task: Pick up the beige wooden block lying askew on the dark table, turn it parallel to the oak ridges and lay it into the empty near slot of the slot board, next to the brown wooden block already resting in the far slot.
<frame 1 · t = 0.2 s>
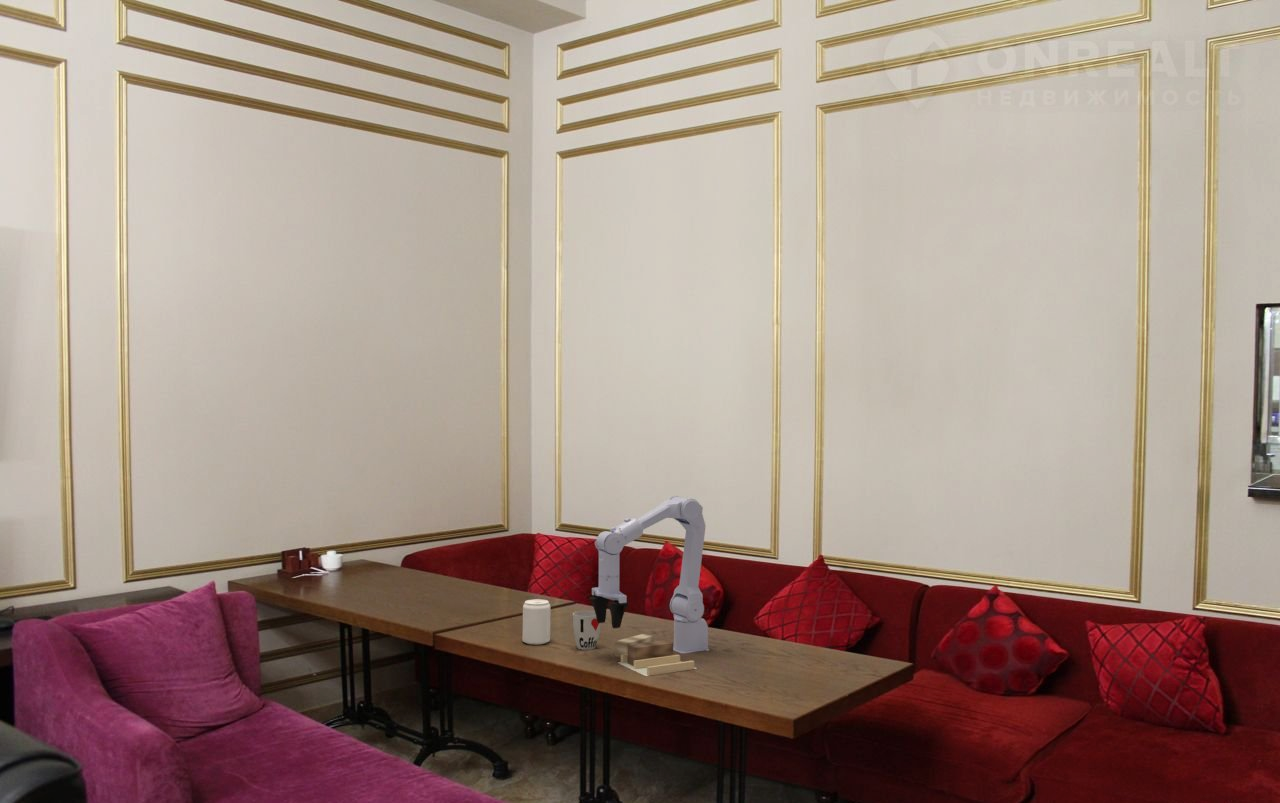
hand: (608, 625, 269), 10 cm above the table, fingers open, 7 cm apart
beige wooden block: (634, 656, 274), on the table
cup: (586, 648, 283), on the table
slot board: (657, 667, 262), on the table
brown wooden block: (650, 662, 265), point 1 cm above the table, touching slot board
beverage can: (536, 642, 289), on the table
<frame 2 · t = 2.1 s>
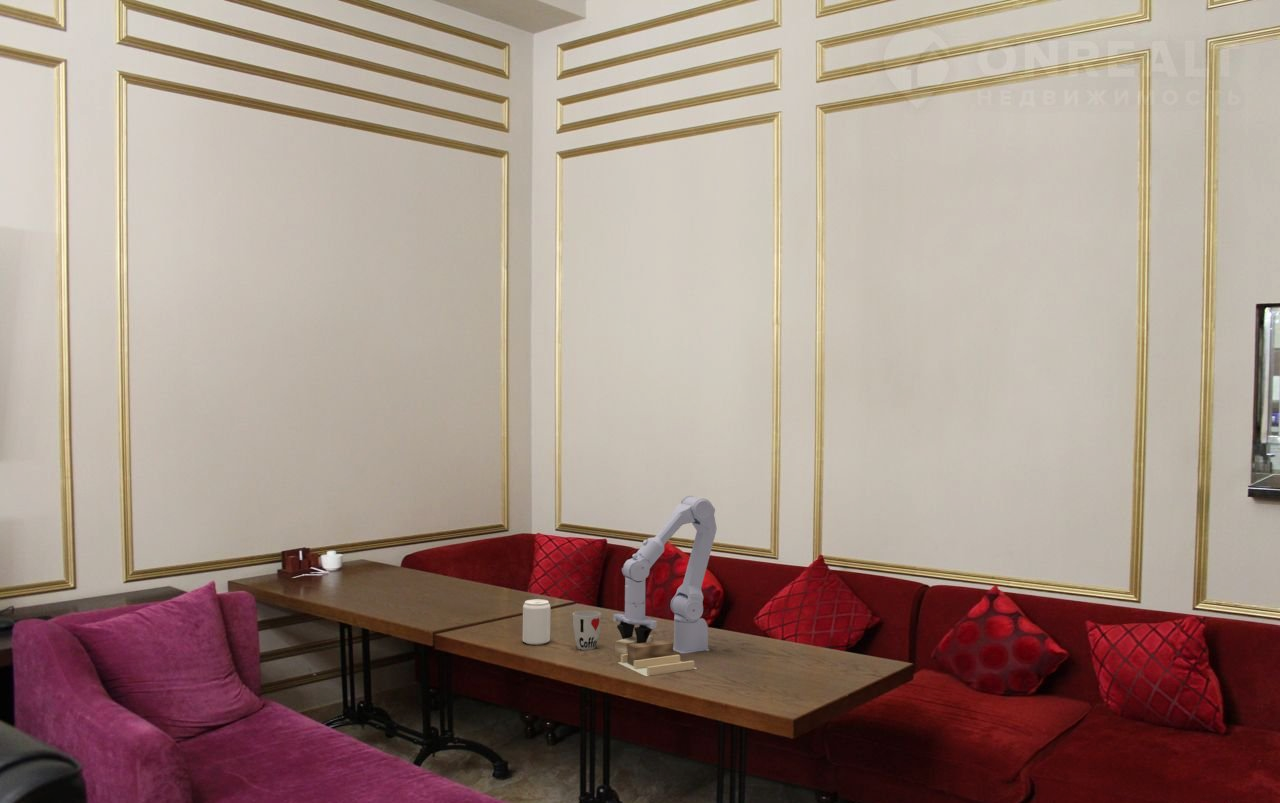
hand: (634, 650, 275), 1 cm above the table, fingers open, 4 cm apart
beige wooden block: (634, 656, 274), on the table, touching gripper
everything else where it was.
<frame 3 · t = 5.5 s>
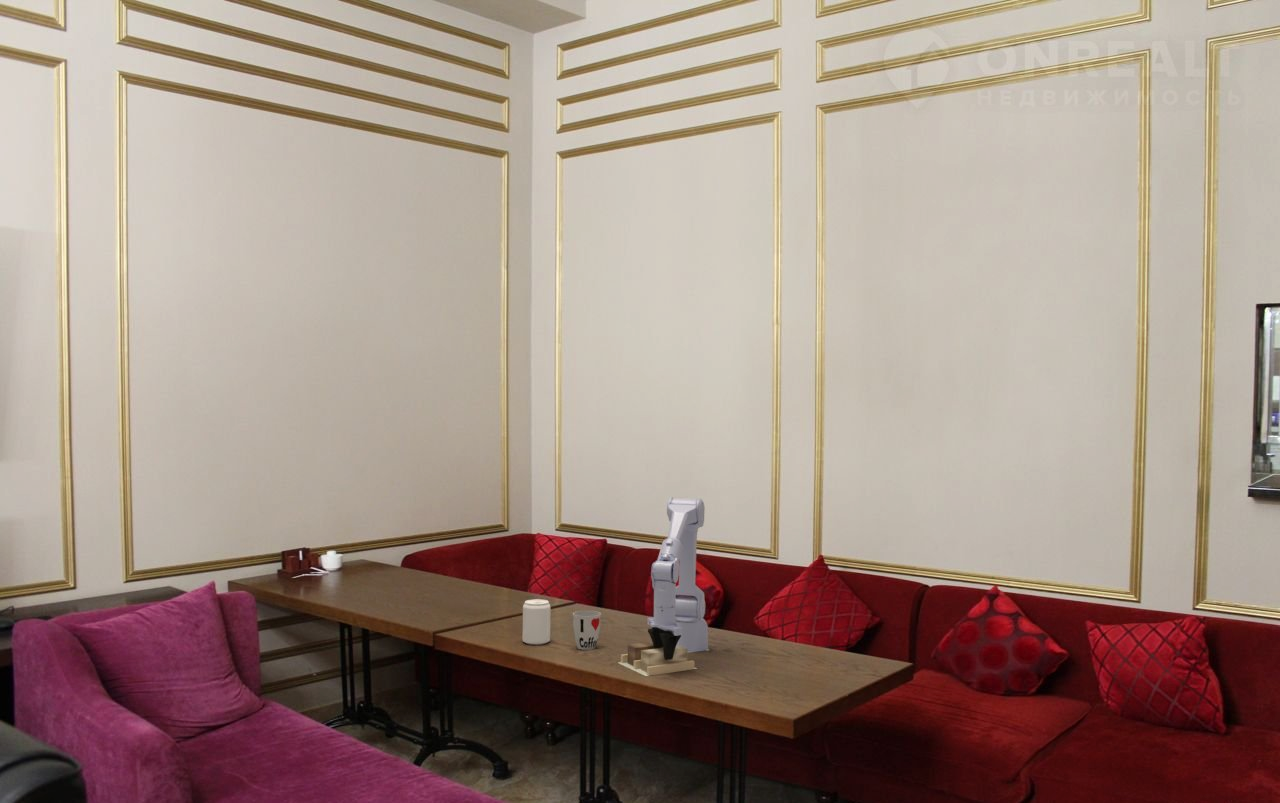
hand: (664, 657, 259), 4 cm above the table, fingers closed on beige wooden block, 4 cm apart
beige wooden block: (664, 668, 259), point 1 cm above the table, touching gripper, slot board
everything else where it was.
when the fingers open (4 cm above the table, at t = 6.2 s): beige wooden block stays where it is, resting on slot board.
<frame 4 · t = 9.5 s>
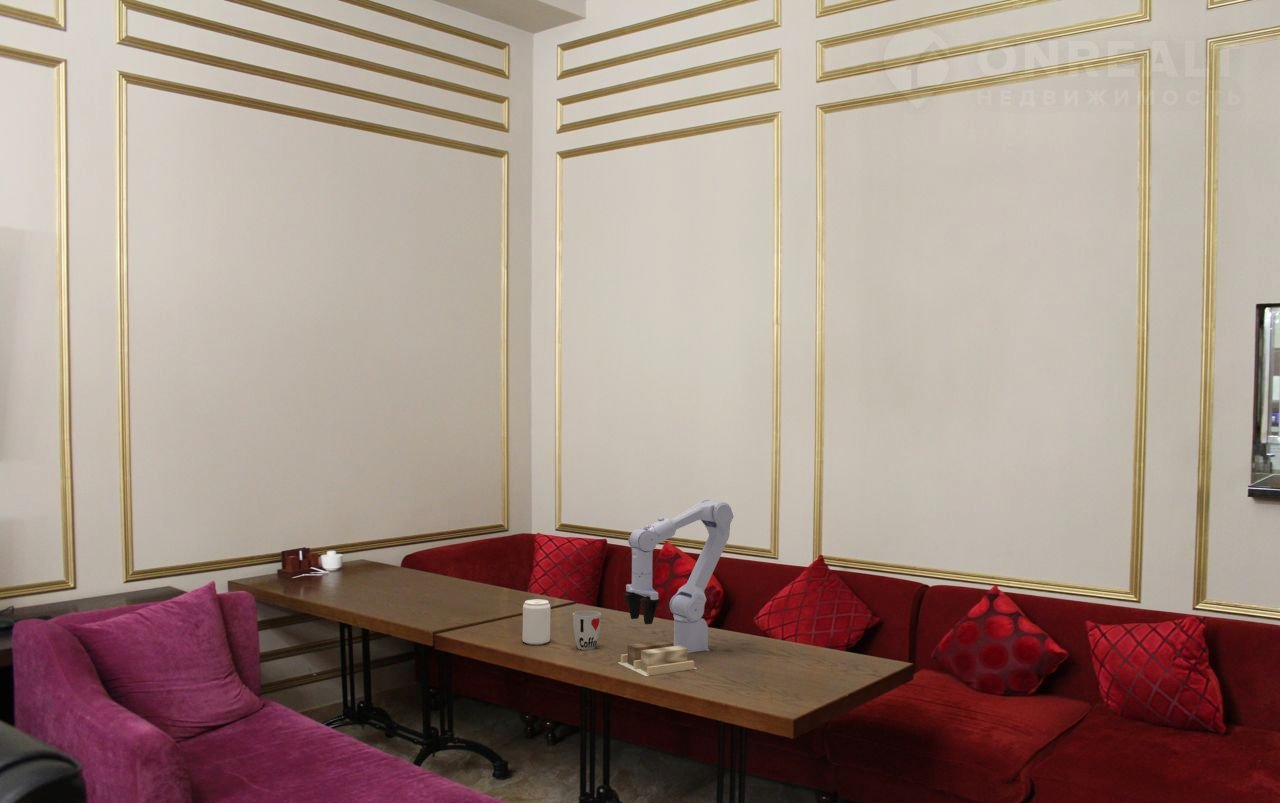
hand: (641, 621, 273), 10 cm above the table, fingers open, 7 cm apart
beige wooden block: (664, 668, 259), point 1 cm above the table, touching slot board
everything else where it was.
at the end: beige wooden block inside the target area (0.1 cm from its centre), point 0.6 cm above the table; the gripper is holding nothing; brown wooden block moved 0.0 cm from its start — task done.
